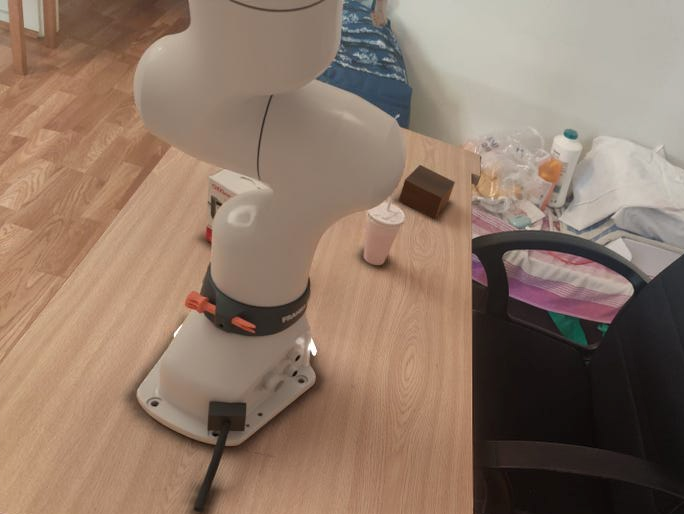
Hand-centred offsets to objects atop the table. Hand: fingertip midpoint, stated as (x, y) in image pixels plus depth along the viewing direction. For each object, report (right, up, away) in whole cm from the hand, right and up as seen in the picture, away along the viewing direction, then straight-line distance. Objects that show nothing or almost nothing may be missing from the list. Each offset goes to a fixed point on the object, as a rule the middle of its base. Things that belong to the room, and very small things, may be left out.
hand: (353, 30), depth 83 cm
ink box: (-21, -28, +12) cm, 37 cm away
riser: (+6, -13, +39) cm, 42 cm away
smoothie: (-1, -28, +22) cm, 35 cm away
